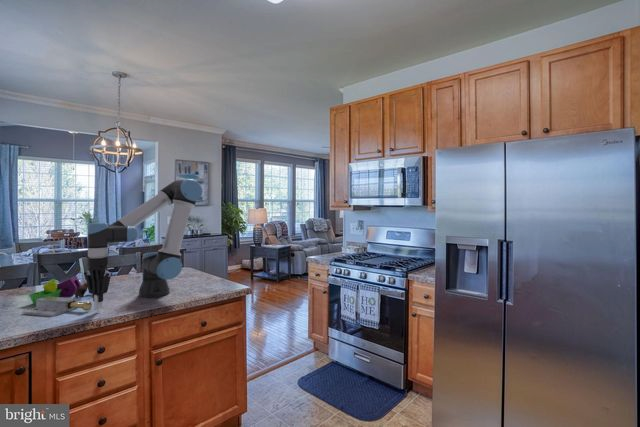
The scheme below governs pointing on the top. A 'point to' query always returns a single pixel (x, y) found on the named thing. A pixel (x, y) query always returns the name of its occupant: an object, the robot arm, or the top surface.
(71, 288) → the mounting bracket
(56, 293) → the fruit basket
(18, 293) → the top surface
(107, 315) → the top surface
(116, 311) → the top surface
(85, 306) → the pin
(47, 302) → the hinge
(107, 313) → the top surface
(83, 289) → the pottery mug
